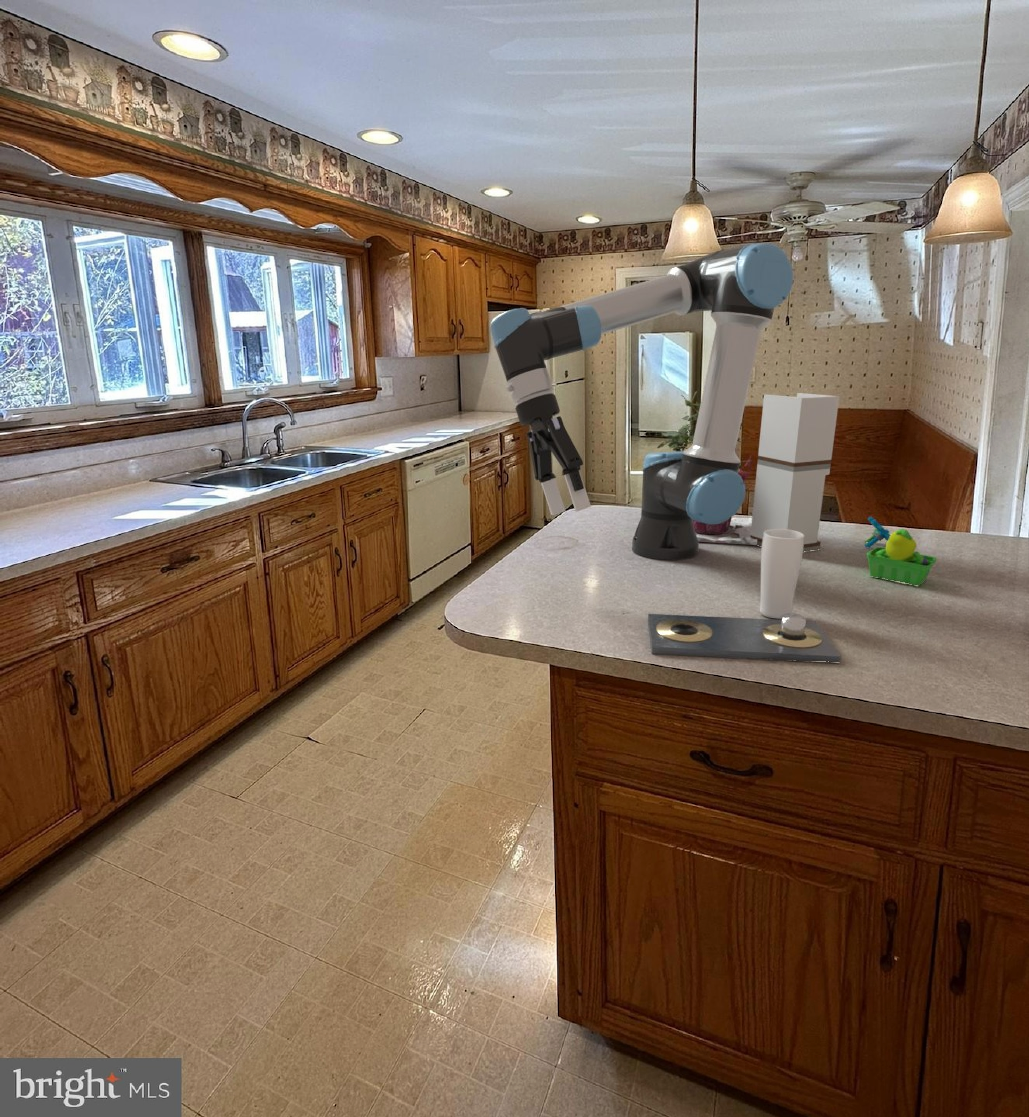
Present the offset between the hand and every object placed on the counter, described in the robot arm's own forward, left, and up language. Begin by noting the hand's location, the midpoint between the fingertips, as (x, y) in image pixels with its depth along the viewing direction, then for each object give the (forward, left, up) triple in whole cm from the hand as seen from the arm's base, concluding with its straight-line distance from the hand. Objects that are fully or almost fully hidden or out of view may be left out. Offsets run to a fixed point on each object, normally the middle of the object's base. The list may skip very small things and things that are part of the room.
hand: (570, 511), depth 129 cm
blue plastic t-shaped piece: (-80, +23, -18) cm, 85 cm away
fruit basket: (-59, +35, -17) cm, 71 cm away
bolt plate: (-8, +31, -17) cm, 37 cm away
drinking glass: (-23, +29, -17) cm, 41 cm away
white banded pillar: (-64, +8, -17) cm, 66 cm away
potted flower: (-62, -14, -17) cm, 66 cm away
